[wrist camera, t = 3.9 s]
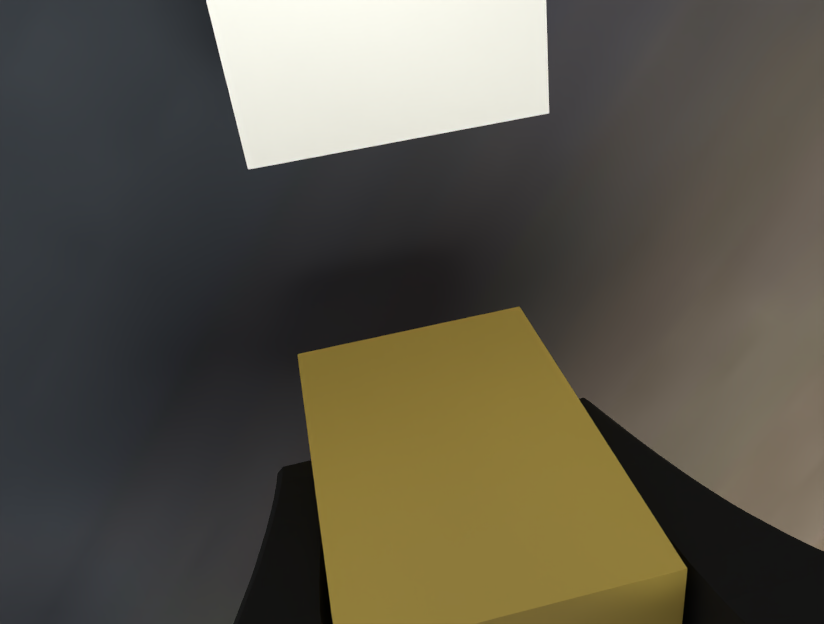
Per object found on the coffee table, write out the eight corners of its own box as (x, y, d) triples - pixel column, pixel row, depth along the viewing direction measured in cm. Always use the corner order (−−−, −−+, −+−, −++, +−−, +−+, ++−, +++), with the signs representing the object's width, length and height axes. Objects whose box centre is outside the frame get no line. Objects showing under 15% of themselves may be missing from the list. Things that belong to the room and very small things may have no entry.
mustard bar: (529, 471, 16) (668, 760, 11) (337, 516, 15) (389, 839, 10) (519, 306, 14) (687, 569, 9) (297, 354, 13) (337, 659, 8)
